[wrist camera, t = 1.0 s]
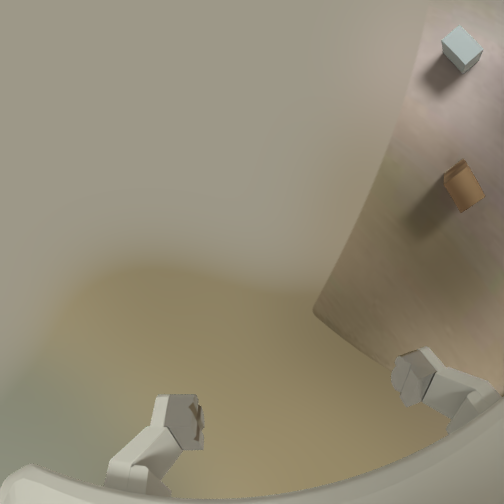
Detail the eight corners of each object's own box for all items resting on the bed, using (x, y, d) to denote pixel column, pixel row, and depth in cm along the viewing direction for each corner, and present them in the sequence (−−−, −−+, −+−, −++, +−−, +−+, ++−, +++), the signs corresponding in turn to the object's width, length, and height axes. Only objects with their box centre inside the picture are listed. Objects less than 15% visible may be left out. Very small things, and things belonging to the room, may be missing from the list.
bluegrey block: (458, 39, 23) (459, 24, 18) (478, 60, 23) (483, 49, 18) (442, 52, 27) (441, 40, 22) (462, 74, 27) (465, 64, 21)
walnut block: (463, 158, 34) (468, 166, 27) (478, 182, 34) (485, 196, 27) (444, 172, 38) (443, 184, 31) (458, 195, 38) (460, 213, 30)
